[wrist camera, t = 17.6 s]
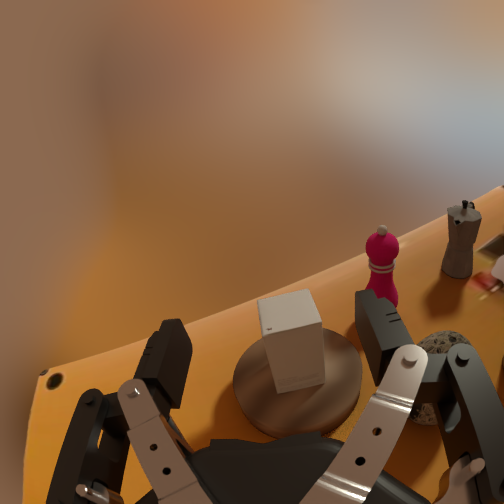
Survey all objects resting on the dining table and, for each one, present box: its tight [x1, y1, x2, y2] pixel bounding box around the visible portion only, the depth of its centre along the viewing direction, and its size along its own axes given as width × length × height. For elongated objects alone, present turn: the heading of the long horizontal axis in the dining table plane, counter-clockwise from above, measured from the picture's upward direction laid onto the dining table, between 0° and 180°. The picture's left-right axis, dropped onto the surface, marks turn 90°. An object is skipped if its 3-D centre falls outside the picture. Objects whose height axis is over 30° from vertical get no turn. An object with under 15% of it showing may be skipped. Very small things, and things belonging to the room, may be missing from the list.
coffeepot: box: [442, 200, 482, 279], centre depth 54 cm, size 15×9×18 cm, turn 123°
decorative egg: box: [408, 331, 473, 425], centre depth 29 cm, size 12×12×15 cm
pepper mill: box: [365, 225, 399, 308], centre depth 48 cm, size 7×7×20 cm
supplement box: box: [257, 289, 326, 394], centre depth 38 cm, size 7×7×13 cm
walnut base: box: [233, 328, 362, 439], centre depth 42 cm, size 20×20×5 cm
